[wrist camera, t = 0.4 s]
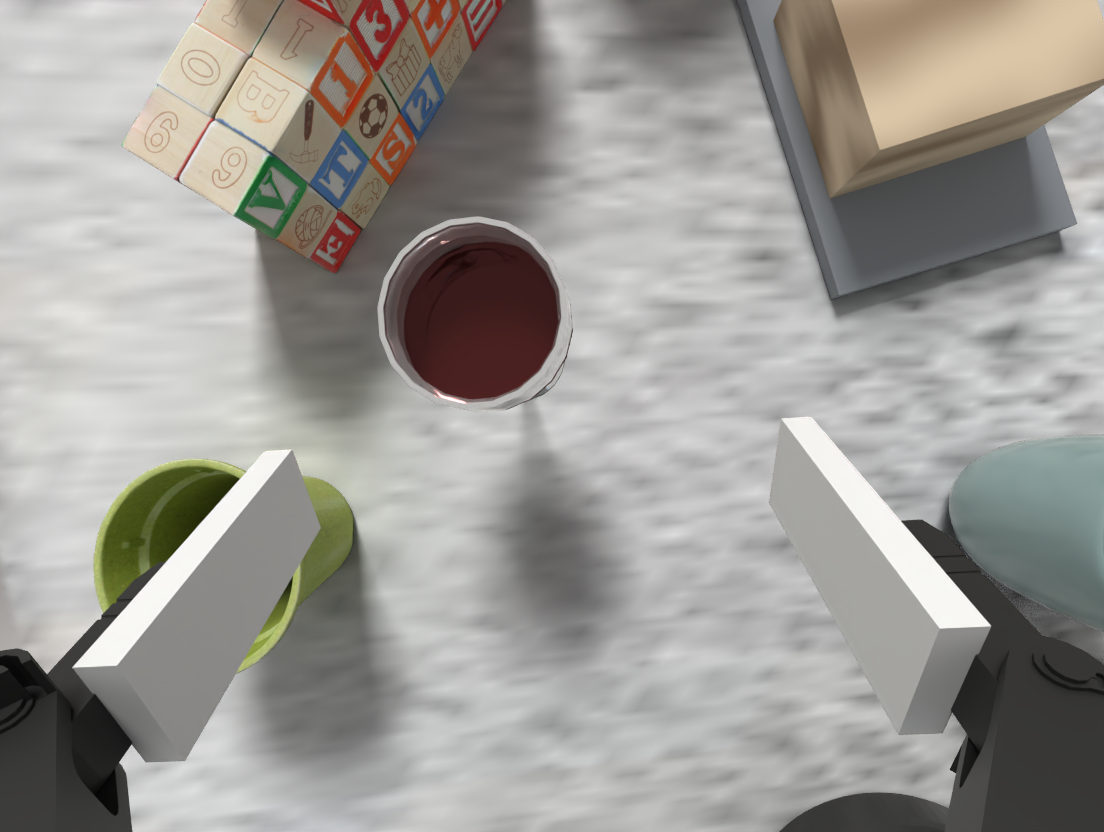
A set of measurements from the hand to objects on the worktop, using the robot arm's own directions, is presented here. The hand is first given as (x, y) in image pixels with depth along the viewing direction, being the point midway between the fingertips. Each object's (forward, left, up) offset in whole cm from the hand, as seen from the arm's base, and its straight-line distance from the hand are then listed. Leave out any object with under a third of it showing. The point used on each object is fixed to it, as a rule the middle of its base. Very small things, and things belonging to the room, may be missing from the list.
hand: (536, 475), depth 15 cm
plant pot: (0, +16, -16) cm, 22 cm away
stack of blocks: (+23, +4, -16) cm, 28 cm away
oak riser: (+14, -22, -14) cm, 30 cm away
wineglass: (+6, +1, -16) cm, 17 cm away
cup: (-9, -21, -16) cm, 28 cm away
